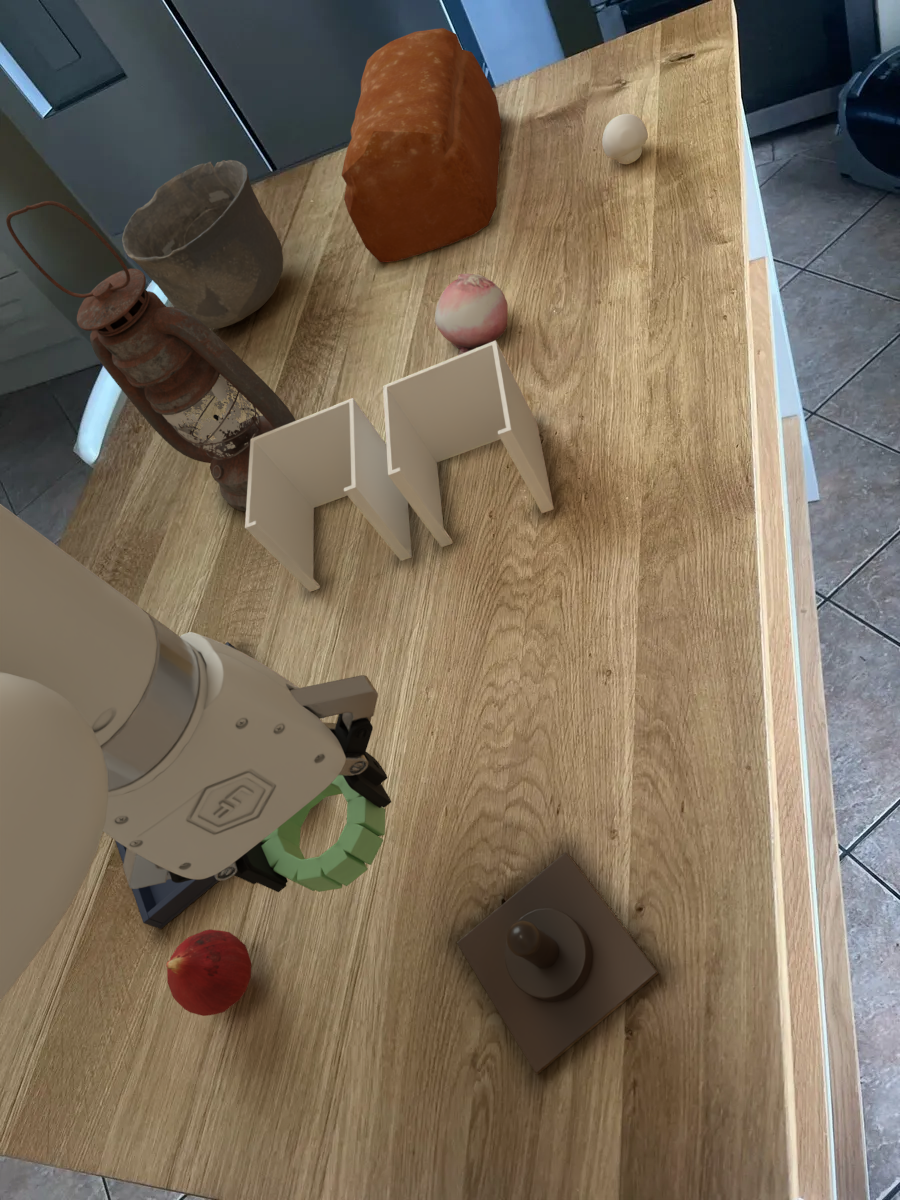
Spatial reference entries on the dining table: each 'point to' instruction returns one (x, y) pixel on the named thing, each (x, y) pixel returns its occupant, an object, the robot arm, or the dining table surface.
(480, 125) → the bread
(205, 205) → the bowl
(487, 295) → the onion
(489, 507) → the dining table surface
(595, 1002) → the stand
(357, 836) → the ring
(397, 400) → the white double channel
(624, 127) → the mushroom
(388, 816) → the dining table surface
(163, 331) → the lantern
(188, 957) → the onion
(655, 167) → the dining table surface
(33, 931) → the robot arm
